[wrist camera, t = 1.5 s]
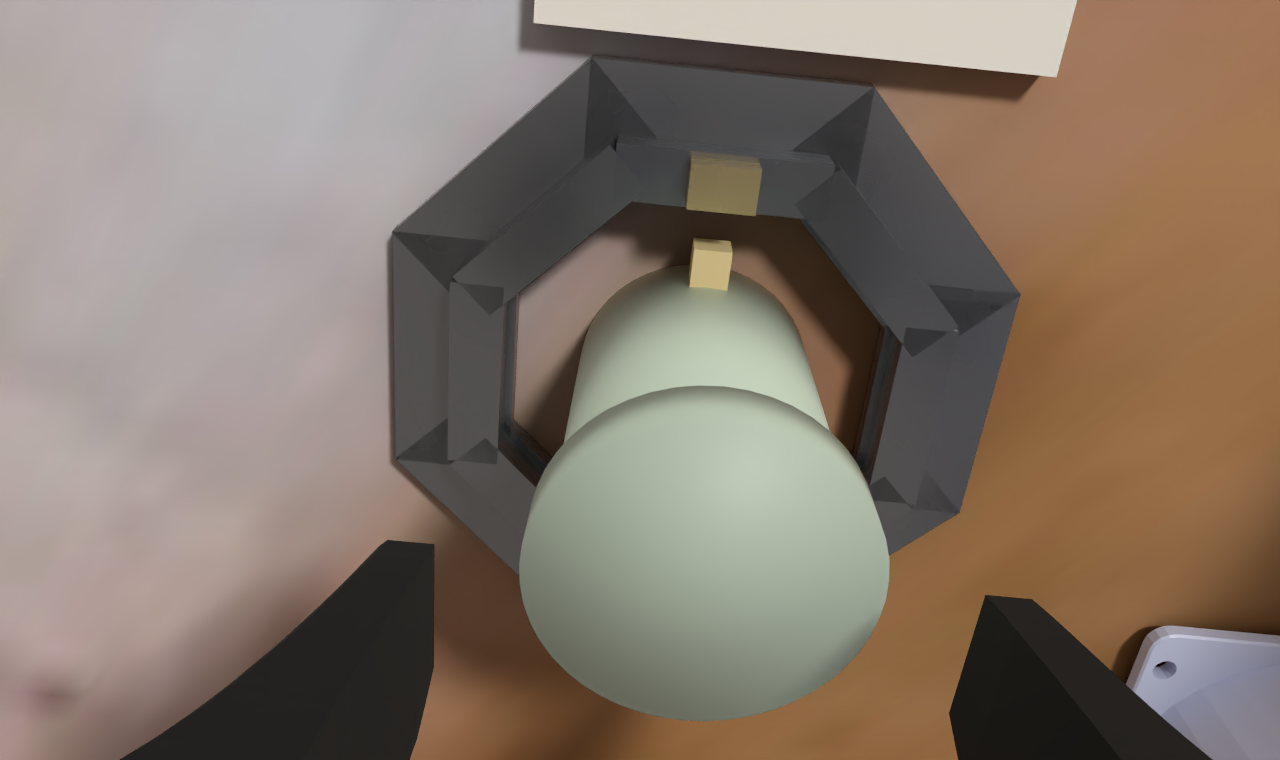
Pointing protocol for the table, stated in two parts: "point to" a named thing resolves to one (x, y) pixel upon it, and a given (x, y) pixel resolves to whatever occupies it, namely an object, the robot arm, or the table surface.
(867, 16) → the plate
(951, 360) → the bayonet collar
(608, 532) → the pale green jar
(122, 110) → the table surface
